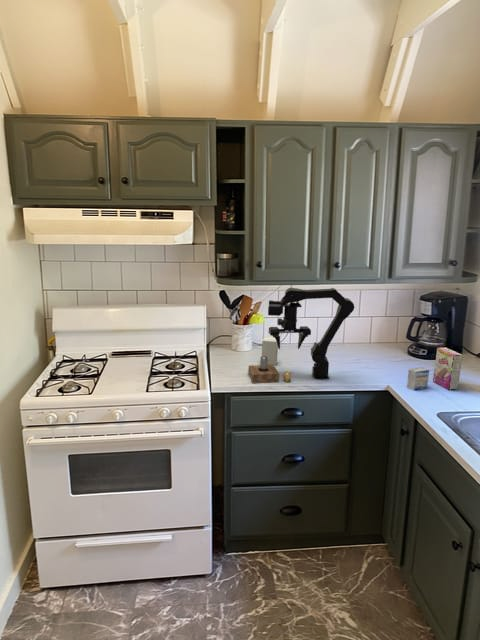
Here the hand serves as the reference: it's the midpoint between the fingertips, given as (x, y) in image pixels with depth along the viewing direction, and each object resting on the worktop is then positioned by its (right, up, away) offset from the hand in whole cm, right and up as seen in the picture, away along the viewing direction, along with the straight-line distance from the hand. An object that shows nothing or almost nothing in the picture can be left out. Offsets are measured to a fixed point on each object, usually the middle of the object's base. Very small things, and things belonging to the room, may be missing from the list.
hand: (288, 348), depth 217 cm
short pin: (-1, -14, -4) cm, 15 cm away
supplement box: (-8, -9, +20) cm, 23 cm away
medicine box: (+56, -17, -8) cm, 59 cm away
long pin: (-12, -13, 0) cm, 18 cm away
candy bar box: (+70, -16, -5) cm, 72 cm away
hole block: (-12, -13, 0) cm, 18 cm away
